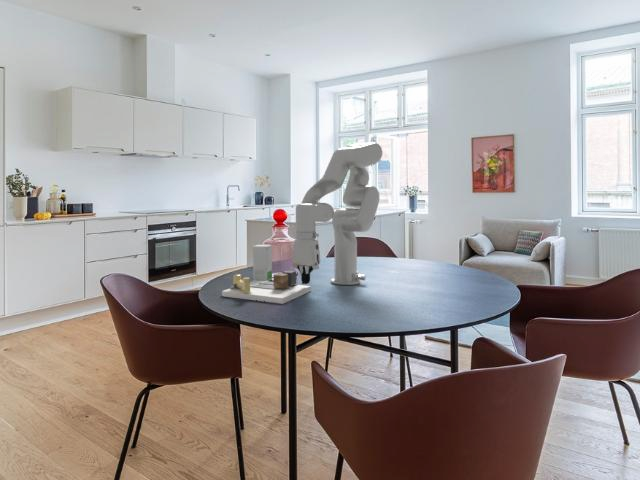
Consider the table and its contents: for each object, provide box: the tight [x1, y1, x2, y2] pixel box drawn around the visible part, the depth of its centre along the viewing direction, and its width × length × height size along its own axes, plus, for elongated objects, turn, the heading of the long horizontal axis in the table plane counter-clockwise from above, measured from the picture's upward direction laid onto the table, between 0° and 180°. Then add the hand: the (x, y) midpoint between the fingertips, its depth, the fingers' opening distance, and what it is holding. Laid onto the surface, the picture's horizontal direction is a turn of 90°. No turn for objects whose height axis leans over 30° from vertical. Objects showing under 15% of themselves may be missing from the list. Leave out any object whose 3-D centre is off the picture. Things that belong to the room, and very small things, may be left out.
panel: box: [221, 280, 312, 305], centre depth 179 cm, size 27×22×2 cm
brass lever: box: [232, 273, 251, 293], centre depth 175 cm, size 14×3×5 cm, turn 27°
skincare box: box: [252, 244, 273, 282], centre depth 202 cm, size 8×7×16 cm
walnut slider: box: [272, 272, 288, 289], centre depth 177 cm, size 4×4×5 cm
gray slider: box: [281, 270, 297, 286], centre depth 183 cm, size 4×4×5 cm
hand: (305, 283), depth 180 cm, fingers closed
